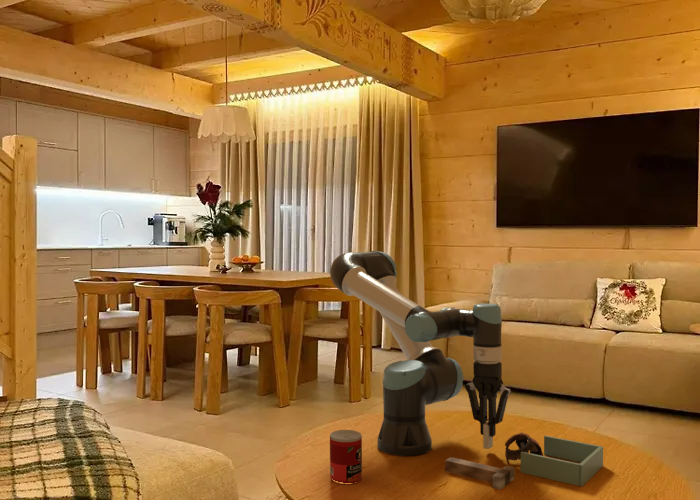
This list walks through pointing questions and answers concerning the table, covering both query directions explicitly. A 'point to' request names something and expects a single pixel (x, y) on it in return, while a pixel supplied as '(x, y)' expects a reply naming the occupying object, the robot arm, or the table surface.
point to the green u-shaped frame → (564, 469)
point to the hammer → (480, 471)
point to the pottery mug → (522, 446)
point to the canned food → (346, 456)
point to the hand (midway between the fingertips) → (488, 447)
